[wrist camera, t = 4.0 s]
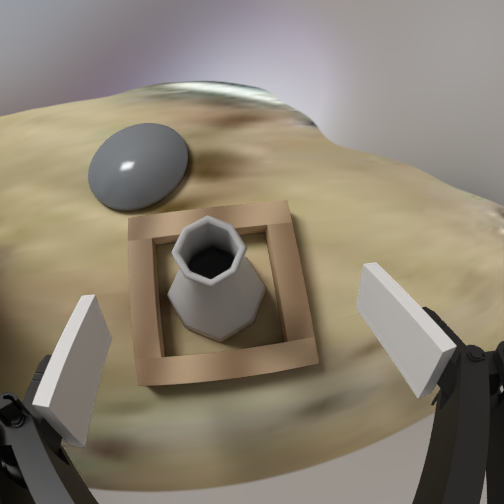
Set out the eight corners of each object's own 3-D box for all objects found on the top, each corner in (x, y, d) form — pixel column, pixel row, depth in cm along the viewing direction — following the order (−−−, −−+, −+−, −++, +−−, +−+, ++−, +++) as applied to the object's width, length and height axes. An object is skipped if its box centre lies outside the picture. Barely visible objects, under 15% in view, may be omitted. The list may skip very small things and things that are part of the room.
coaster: (72, 192, 24) (70, 189, 23) (126, 119, 27) (124, 115, 27) (154, 226, 24) (153, 223, 23) (206, 141, 27) (205, 137, 26)
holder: (144, 383, 19) (138, 385, 18) (133, 225, 23) (128, 217, 22) (313, 362, 21) (318, 363, 20) (283, 208, 25) (287, 200, 24)
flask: (282, 287, 23) (320, 242, 13) (222, 359, 21) (217, 367, 11) (212, 231, 24) (205, 156, 14) (151, 296, 22) (101, 256, 12)
